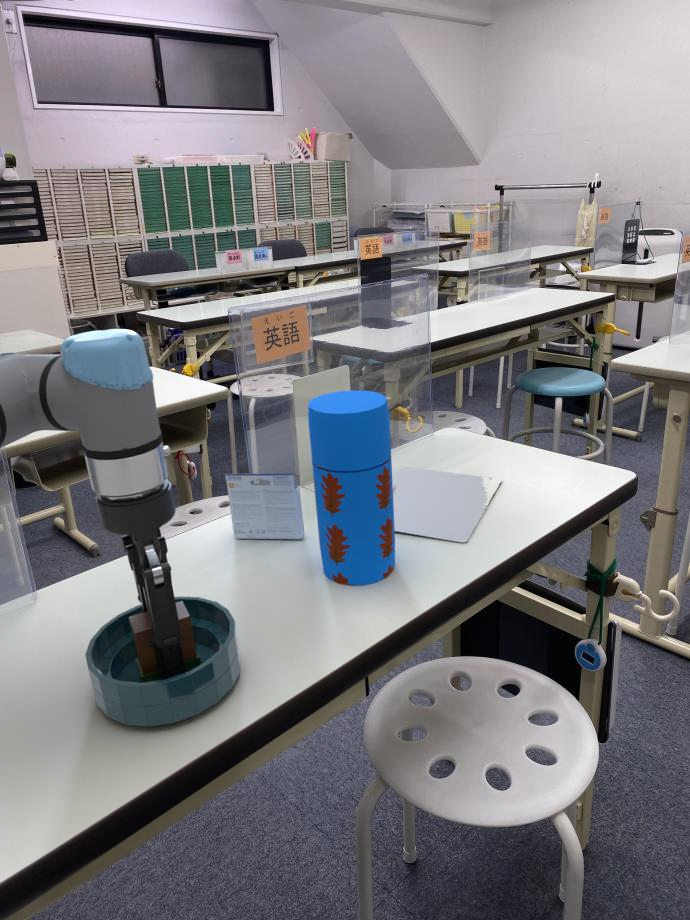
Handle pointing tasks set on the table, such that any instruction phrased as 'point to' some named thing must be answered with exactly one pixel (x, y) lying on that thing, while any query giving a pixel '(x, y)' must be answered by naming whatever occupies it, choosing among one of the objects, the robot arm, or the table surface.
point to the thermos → (353, 485)
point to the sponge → (147, 654)
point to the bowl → (175, 695)
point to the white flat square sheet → (437, 503)
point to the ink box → (265, 506)
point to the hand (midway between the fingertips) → (170, 673)
